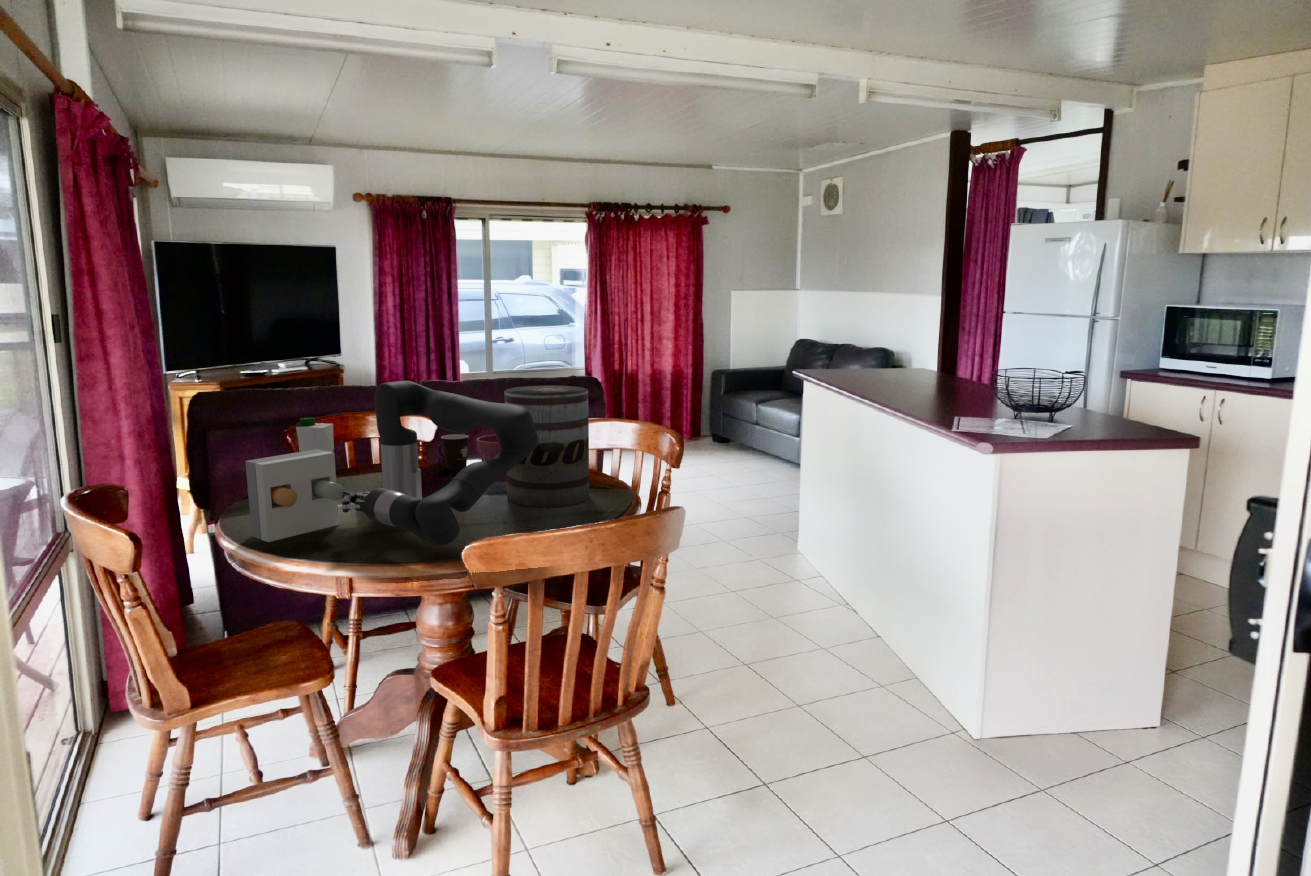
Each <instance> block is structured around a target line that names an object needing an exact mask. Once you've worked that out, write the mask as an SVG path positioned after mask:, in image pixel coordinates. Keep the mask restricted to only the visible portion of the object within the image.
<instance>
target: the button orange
mask: <svg viewBox="0 0 1311 876" xmlns="http://www.w3.org/2000/svg"><path fill="white" fill-rule="evenodd" d="M270 489H271V502H272V503H275V504H279V505H282V506H285V507H291V506H293V505H294V504H295V503H296V501H297V494H296V492H295V491H294V490H291V489H287V488H283V487H280V486H276V487H271V488H270Z"/></svg>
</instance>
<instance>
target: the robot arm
mask: <svg viewBox="0 0 1311 876" xmlns="http://www.w3.org/2000/svg"><path fill="white" fill-rule="evenodd" d="M374 409H375V418H376V427H377V432H378V433H377V434H378V437H379V439H380V457H381V458H380V460H381V474H382V487H377V488H374V489H372V490H365V491H358V492H356V491H353V490H344V492H343V494H342V497H341V498H342V501H341V506H342V507H341V508H342V512H343V513H348V512H349V511H351V510H352V509H354V510H355V511H357V512H362V513H363V514H364V515H365V516H366V517H367V518H368V519H369V520H370V521H373V522H376V523H379V524H383V525H386V526H390V527H397V528H401V529H402V530H408V531H410V532H411V533H412V534H413V535H415V536H416V537H417V538H420V539H421V540H422V541H424V542H426V543H428V544H430V545H433V546H446V545H449V544H451V543H453V542H454V541H455V540H456V539H457V538H458V536H459V533H460V529H461V528H460V524H459V522H458V520H457V517H456V516H455V514H454V512H453V510H454V511H457V512H460V513H463V512H464V513H465V512H468V511H469V510H470V509H472V508H473V506H475V504H476V503H477V502H478V501H479V500H480V499H481V498H482V496H483V495H484V494H485V492H487V491H488V489H489V488H490V487H491V486H492V485H493V484H494V483H496V482H495V481H496V480H498V479H499V478H500V477H501V476H503V475H504V474H505V473H507V472H508V471H509V470H511V469H512V468H513V467H514V466H516V465H517V464H518V463H519V462H521V461H522V460H523V459H524V458H526V457H527V456H528V455H529V454H530V453H531V452H532V451H533V450H534V449H535V448H536V446H537V445H538V442H539V438H538V434H537V430H536V427H535V424H534V421H533V419H532V416H531V414H530V412H529V411H528V410H527V409H526V408H524V407H522V406H518V405H512V404H505V403H501V402H490V401H487V400H486V401H485V400H482V399H477V398H472V397H469V396H465V395H461V394H457V393H453V392H452V393H451V392H448V391H447V392H446V391H443V390H435V389H431V388H430V387H427V386H424V385H422V384H419V383H416V382H414V381H412V380H410V381H409V380H399V381H388V382H382V383H380V384H379V385H377V387H376V389H375V393H374ZM409 416H423V417H428V418H429V420H431V422H432V423H433V424H434V425H435V427H437V428H440V429H442V430H445V431H448V432H452V433H456V434H466V433H469V432H471V431H473V430H474V429H476V428H478V426H480V425H485V426H488V427H490V428H491V429H492V430H493V431H494V435H496V437H497V440H498V442H499V445H500V447H501V449H500V451H499V453H498V454H497V455H496V457H495V458H493V459H491V460H487V461H482V460H480V461H475V462H471V463H470V464H468V465H466V467H465V468H462V469H460V471H459V472H458V473H457V474H456V475H455V476H454V477H453V479H451V480H450V482H449V483H448V484H446V485H444V486H443V487H442V488H440V489H438V490H437V491H435V492H433V493H432V494H430V495H428V496H426V497H424V498H423V494H422V492H423V491H422V490H423V489H422V472H421V471H422V469H421V468H419V452H418V451H419V450H418V449H419V448H418V434H417V431H415V430H414V429H410V428H406V427H404V426H403V424H402V420H401V417H409Z"/></svg>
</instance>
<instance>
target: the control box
mask: <svg viewBox="0 0 1311 876" xmlns="http://www.w3.org/2000/svg"><path fill="white" fill-rule="evenodd" d="M335 457H336V456H335V452H334V453H333V452H328V451H323V450H319V449H316V450H309V451H303V452H292V453H286V454H279V455H273V456H268V457H267V456H266V457H262V458H261V457H260V458H255V459H248V460H245V472H246V481H247V483H246V484H247V495H248V507H249V518H250V531H251V537H252V538H254V539H258V540H261V541H263V542H267V543H271V542H274V541H278V540H279V541H280V540H283V539H287V538H290V537H295V536H300V535H303V534H307V533H312V532H315V531H321V530H325V529H328V528H331V527H336V526H340V520H339V505H338V504H339V503H338V500H331V499H327V498H324V497H320V496H317V495H316V494H315V492H314V487H315V484H316V483H317V482H318V481H320V480H326V481H330V482H334V483H337V474H336V472H337V471H336V458H335ZM276 486H280V487H283V488H287V489H291V490H294V491H295V492H296V494H297V501H296V503H295V504H294V505H293V506H291V507H285V506H282V505H279V504H275V503H272V502H271V489H270V488H271V487H276Z"/></svg>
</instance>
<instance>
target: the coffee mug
mask: <svg viewBox="0 0 1311 876" xmlns="http://www.w3.org/2000/svg"><path fill="white" fill-rule="evenodd" d="M440 437H441V444H440V445H439V447H438V453H439V455H440V456H441V458H443V459H444V463H445V468H446V469H448V470H462V469H463V468H465V467H466V466H467V462H468V452H469V449H468V448H469V435H466V434H462V433H456V434H446V435H442V436H440ZM441 450H442V451H443V453H442V452H441Z"/></svg>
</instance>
